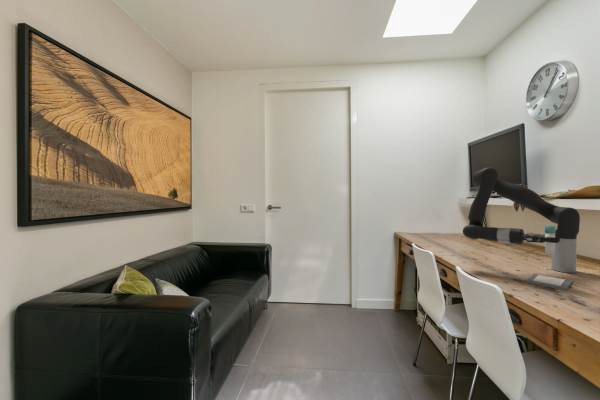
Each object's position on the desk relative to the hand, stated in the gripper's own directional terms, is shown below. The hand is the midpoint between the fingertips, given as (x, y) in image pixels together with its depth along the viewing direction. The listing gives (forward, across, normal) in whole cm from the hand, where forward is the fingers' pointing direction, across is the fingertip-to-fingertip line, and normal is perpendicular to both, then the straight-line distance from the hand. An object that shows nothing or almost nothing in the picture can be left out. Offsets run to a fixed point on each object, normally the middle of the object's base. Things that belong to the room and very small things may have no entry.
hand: (558, 240), depth 115 cm
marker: (-3, 0, +7) cm, 8 cm away
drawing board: (-3, 0, +20) cm, 20 cm away
